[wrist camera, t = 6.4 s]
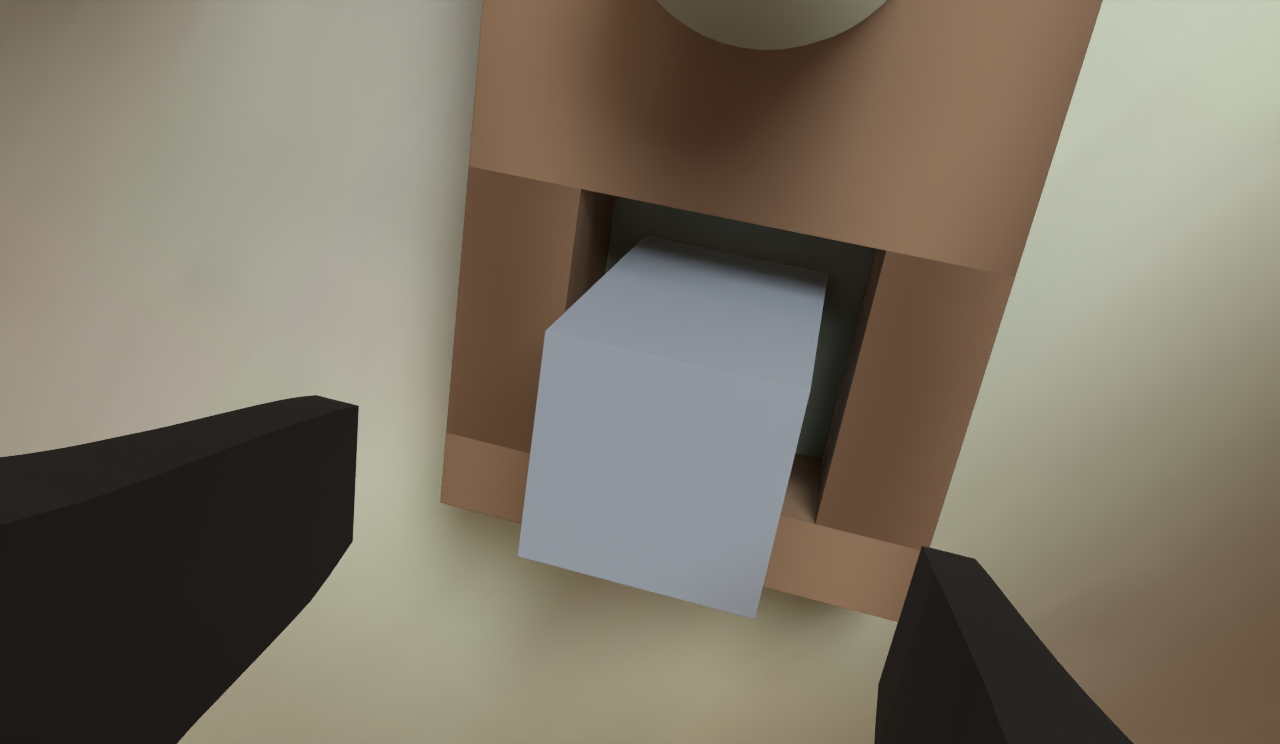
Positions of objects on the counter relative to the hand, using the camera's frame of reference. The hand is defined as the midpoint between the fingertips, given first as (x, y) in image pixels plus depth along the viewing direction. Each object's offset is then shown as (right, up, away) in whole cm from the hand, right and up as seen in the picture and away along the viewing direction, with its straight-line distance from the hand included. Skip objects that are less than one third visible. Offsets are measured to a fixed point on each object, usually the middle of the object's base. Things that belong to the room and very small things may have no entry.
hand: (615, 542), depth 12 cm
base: (+3, +7, +8) cm, 11 cm away
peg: (+2, +3, +9) cm, 10 cm away
